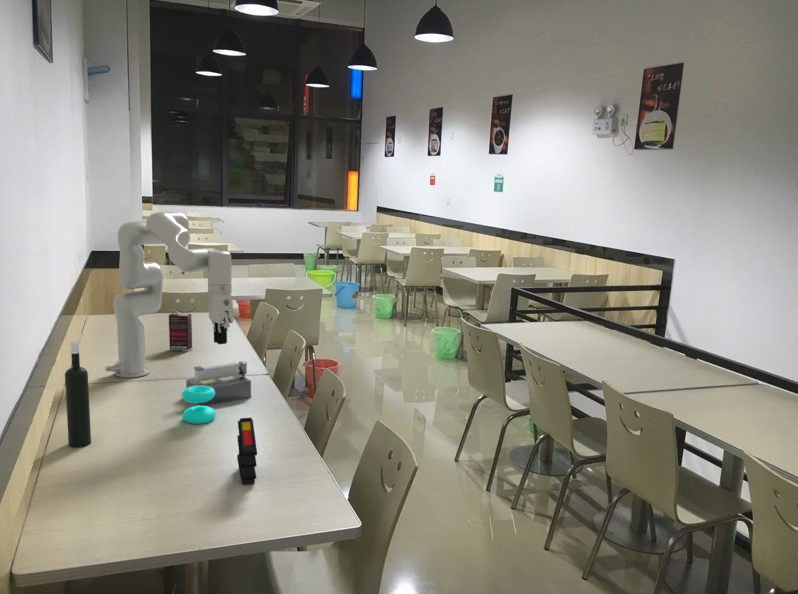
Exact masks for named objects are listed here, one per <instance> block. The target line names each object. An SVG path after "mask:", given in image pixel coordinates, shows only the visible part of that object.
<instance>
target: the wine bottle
mask: <svg viewBox="0 0 798 594" xmlns="http://www.w3.org/2000/svg"><path fill="white" fill-rule="evenodd" d="M69 341H70V342H69V343H70V344H69V345H70V354H71V355H70V356H71V367H70V368H68V369H67V370H66V371H65V373H64V383H65V385H64V386H65V402H66V403H65V404H66V419H67V420H66V423H67V439H68V440H67V441H68V447H70V448H74V449H75V448H83V447H87V446H89V445H90V444H91V443H92V433H91V430H92V429H91V413H90V412H91V411H90V392H89V373H88V371H87V369H86V368H84V367H81V363H80V362H81V361H80V359H81V358H80V340H76V339H74V340H69Z"/></svg>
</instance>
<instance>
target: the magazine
mask: <svg viewBox="0 0 798 594" xmlns="http://www.w3.org/2000/svg"><path fill="white" fill-rule="evenodd" d="M237 426H238V427H237V429H238V435H237V446H238V454H237V455H236V456H237V457H236V459H237V465H238V470H239V475H240V481H241V484H242V485H244V486H245V485H254V484H255V482H256V481H255V480H256V479H257V474H256V467H257V466H258V465H257V460H256V459H257V458H256V456H258V450H257V442H256V433H255V429H254V428H255V427H254V420H253V418H252V417H242V418H239V420H237Z"/></svg>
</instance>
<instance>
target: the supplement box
mask: <svg viewBox="0 0 798 594" xmlns="http://www.w3.org/2000/svg"><path fill="white" fill-rule="evenodd" d="M192 321H193V320H192V313H178V312H177V313H176V312H173V313H172V312H171V313H170V314H168V332H169V333H168V335H169V337H168V339H169V351H170V350H182V351H181V352H189V350H190V351H191V349H192V350H193V330H192V329H193V326H192V325H193V324H192V323H193V322H192Z"/></svg>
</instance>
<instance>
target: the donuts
mask: <svg viewBox="0 0 798 594" xmlns="http://www.w3.org/2000/svg"><path fill="white" fill-rule="evenodd" d="M214 396H215V390H214V389H213V388H212V387H209V386H203V385H200V386H192V387H188V388H186V387H185V389H183V391H182V393H181V397H182V398H183V400H184V401H186V402H187V403H191V404H197V403H203V402H207V401H209V400H211V399H212V398H213V397H214ZM216 416H217V415H216V410H214V408H213V407H210V406H199V405H195V406H191V407H188V408H187V409H185V410H184V412H183V413H182V419H183V420H184V422H185V423H188V424H192V425H194V424H195V425H201V424H206V423H209V422H211V421H213V420H214V419H215V417H216Z"/></svg>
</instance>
